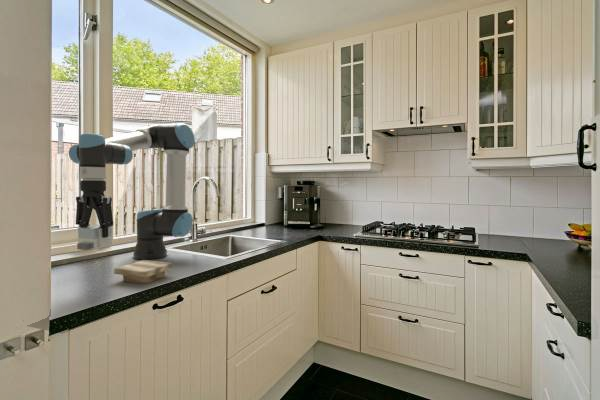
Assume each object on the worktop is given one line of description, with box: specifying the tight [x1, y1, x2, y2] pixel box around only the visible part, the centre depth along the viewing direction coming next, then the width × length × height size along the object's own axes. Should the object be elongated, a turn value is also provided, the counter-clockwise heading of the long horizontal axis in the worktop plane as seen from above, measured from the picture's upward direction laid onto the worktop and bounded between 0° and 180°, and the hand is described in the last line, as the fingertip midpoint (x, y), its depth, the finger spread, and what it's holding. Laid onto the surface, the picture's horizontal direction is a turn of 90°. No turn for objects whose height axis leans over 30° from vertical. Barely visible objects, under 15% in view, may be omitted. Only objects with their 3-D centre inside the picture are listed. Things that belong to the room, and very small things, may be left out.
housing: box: [76, 224, 113, 251], centre depth 112 cm, size 9×7×7 cm
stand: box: [113, 259, 173, 285], centre depth 123 cm, size 14×14×5 cm
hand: (94, 245), depth 113 cm, fingers closed on housing, 7 cm apart
